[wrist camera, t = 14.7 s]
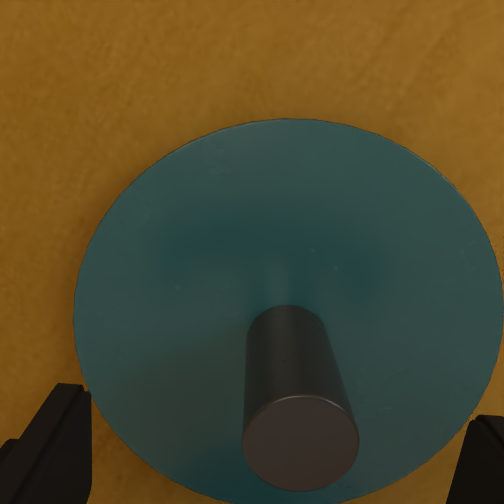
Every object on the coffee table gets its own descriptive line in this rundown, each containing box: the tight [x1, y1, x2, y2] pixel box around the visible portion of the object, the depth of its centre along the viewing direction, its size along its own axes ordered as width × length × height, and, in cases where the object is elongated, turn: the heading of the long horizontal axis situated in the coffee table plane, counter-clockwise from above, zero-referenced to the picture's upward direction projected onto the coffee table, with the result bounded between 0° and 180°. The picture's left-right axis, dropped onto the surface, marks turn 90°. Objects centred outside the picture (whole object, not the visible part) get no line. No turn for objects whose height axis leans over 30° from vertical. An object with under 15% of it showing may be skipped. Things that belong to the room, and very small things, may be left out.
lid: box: [73, 118, 504, 504], centre depth 15 cm, size 16×16×7 cm
